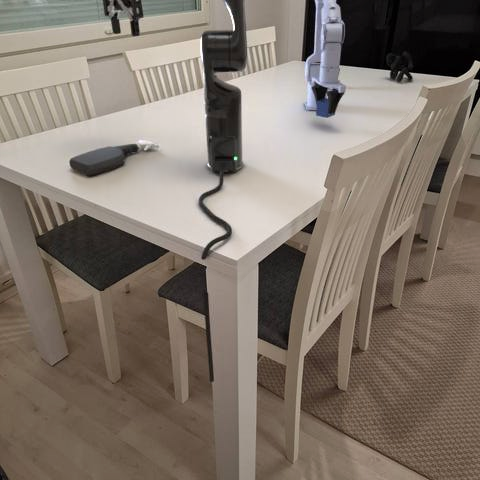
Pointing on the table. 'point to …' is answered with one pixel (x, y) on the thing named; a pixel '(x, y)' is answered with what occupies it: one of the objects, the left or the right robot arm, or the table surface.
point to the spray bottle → (106, 157)
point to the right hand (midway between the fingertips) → (326, 110)
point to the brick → (323, 108)
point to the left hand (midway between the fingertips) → (126, 34)
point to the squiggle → (399, 66)
